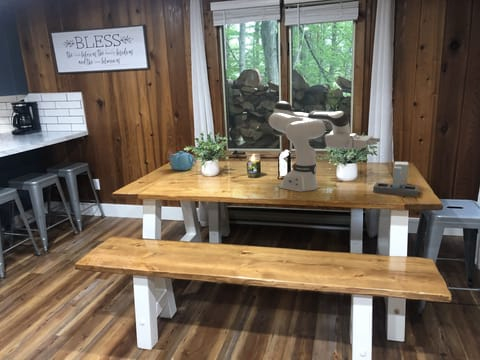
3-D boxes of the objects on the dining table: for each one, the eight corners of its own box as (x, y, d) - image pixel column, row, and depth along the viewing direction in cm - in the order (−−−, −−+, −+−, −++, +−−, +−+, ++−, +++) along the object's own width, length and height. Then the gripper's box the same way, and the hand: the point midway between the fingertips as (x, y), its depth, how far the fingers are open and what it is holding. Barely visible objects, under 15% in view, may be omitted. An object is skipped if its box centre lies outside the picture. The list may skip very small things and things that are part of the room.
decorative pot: (173, 173, 272) (171, 154, 268) (169, 168, 286) (167, 150, 282) (196, 170, 277) (194, 151, 273) (190, 165, 292) (189, 148, 288)
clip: (391, 191, 210) (393, 168, 206) (393, 189, 213) (394, 166, 209) (398, 192, 208) (400, 168, 205) (400, 190, 211) (401, 166, 208)
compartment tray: (373, 192, 212) (373, 186, 211) (376, 187, 220) (376, 182, 219) (416, 196, 201) (417, 191, 200) (418, 191, 209) (419, 186, 209)
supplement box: (407, 186, 219) (408, 164, 216) (393, 185, 222) (394, 164, 219) (406, 182, 226) (408, 161, 223) (393, 182, 229) (394, 161, 225)
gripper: (356, 143, 228) (381, 144, 222) (348, 149, 211) (375, 150, 204) (356, 133, 227) (381, 133, 220) (348, 138, 209) (375, 138, 203)
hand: (378, 141), depth 212 cm, fingers open, 8 cm apart
